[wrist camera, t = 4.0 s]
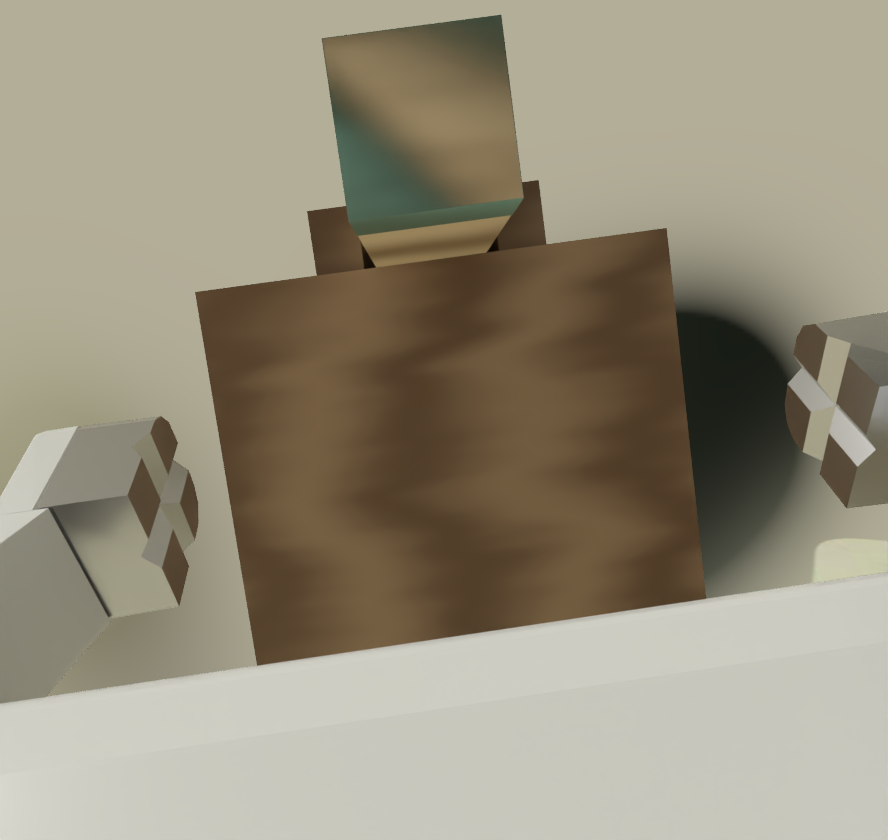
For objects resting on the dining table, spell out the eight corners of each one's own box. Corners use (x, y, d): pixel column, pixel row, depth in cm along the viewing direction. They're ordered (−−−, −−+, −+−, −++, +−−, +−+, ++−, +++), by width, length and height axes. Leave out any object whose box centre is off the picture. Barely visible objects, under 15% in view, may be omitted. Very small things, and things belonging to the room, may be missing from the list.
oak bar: (393, 297, 39) (383, 227, 39) (462, 288, 39) (453, 218, 39) (348, 221, 15) (321, 38, 15) (523, 197, 15) (500, 14, 15)
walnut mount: (636, 764, 41) (573, 230, 38) (746, 980, 27) (659, 163, 24) (355, 805, 41) (271, 271, 38) (320, 1044, 27) (184, 227, 24)
